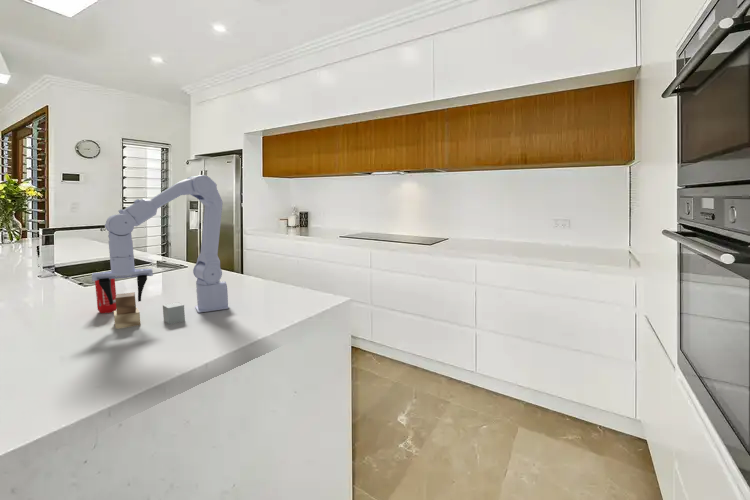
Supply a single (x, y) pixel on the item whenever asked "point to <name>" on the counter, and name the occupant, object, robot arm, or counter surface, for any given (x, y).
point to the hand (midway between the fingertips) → (125, 302)
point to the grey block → (173, 313)
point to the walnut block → (125, 303)
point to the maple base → (127, 319)
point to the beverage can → (105, 298)
